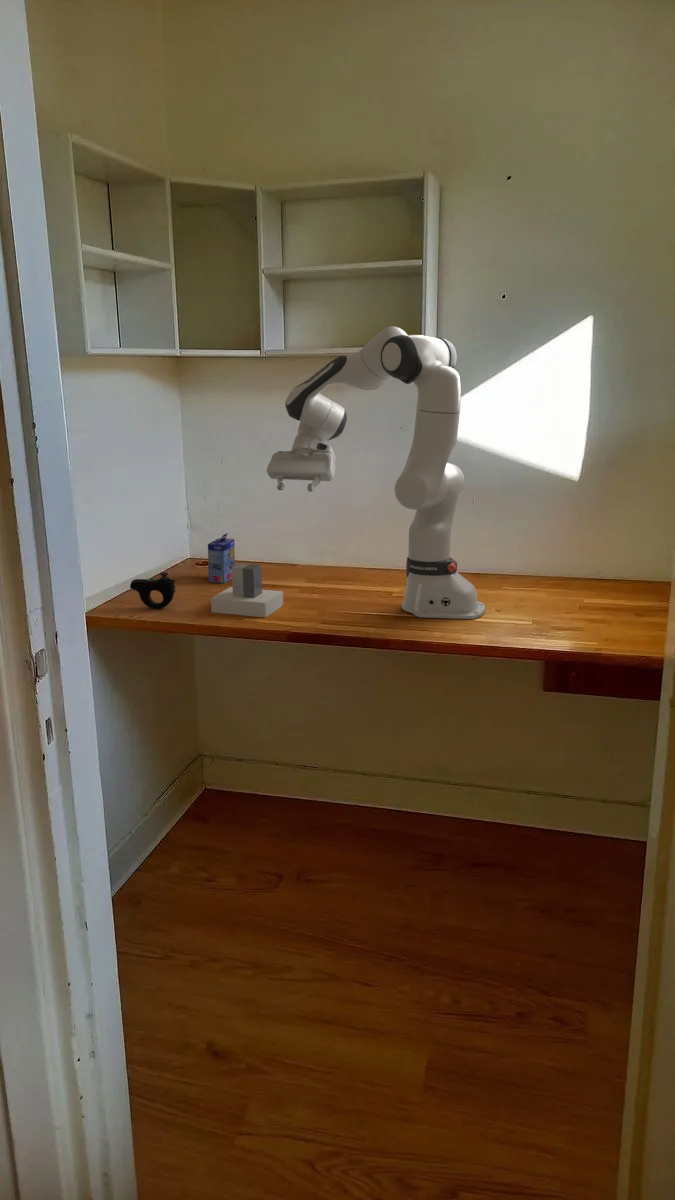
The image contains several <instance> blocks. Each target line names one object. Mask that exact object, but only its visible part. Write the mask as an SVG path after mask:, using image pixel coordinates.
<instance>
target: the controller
mask: <svg viewBox="0 0 675 1200" xmlns="http://www.w3.org/2000/svg"><path fill="white" fill-rule="evenodd" d="M159 575H160V576H161V577H160V578H158V579H157V578H152V579H150V578H147V579H145V578H144V579H142V578H136V579H133V580H131V581H130V582H131V583H130V584H129V585H130V586H129V588H130V589H131V590H134V591H136V592H138V595H139V598H140V600H141V602H142V604H144V605H145V606H146V607H148V608H150V609H154V610H159V609H160V610H161V609H162V608H163V609H164V608H165V607H167V606H168V605H169V604H170V603H171V602H172V601H173V599H174V596H175V595H174V594H175V593H176V588H177V587H176V586H175V582H176V580H175V579H171V578H170V577H168V575H169V573H168V572H161V573H160V574H159ZM152 591H157V592H158V593H160V594H161V595H162V601H161V602H156V601H154V600H153V599H152V597H151V595H152V594H151V593H152Z"/></svg>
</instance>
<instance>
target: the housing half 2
mask: <svg viewBox="0 0 675 1200" xmlns="http://www.w3.org/2000/svg"><path fill="white" fill-rule="evenodd" d="M249 564H250V565H248V566H246V567H244V568H243V592H244V597H249V598H255V597H257V596H258V595H260V594H262V590H263V586H262V585H263V583H262V582H263V581H262V564H257V563H256V564H253V563H249Z"/></svg>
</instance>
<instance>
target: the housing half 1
mask: <svg viewBox="0 0 675 1200" xmlns="http://www.w3.org/2000/svg"><path fill="white" fill-rule="evenodd" d="M250 564H251V563H241V562H239V563H237V564H235V566H234V567H232V578H231V580H232V581H231V583H232V584H231V585H232V586H231V587H233V596H237V597H244V592H243V568H244V567H246V566H248V565H250Z"/></svg>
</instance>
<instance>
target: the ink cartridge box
mask: <svg viewBox="0 0 675 1200" xmlns="http://www.w3.org/2000/svg"><path fill="white" fill-rule="evenodd" d="M227 536H228V532H226V533H224V534H223V535H222V536H221V537H219V538H217V539H215V540H213V541H211V542H208V544H207V562H208V582H209V583H217V584H225V583H227V582H229V581H230V580H232V567H234V566H235V565H236V564H235V563H236V562H235V559H236V557H235V555H236V554H235V538H227Z"/></svg>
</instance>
